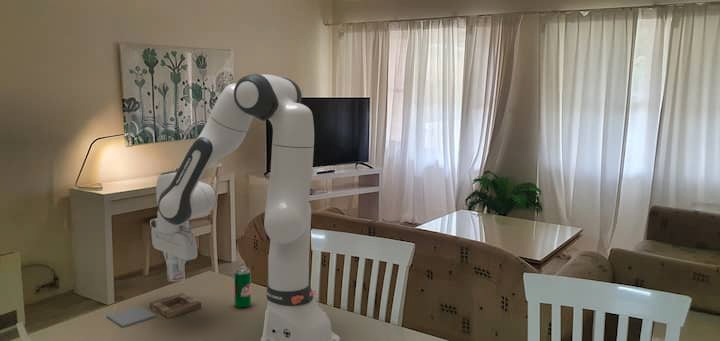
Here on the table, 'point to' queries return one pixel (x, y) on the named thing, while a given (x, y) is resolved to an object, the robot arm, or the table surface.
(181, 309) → the frame
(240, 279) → the soda can
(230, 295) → the table surface
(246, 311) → the table surface
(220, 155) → the robot arm
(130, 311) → the grey mat
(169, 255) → the pill bottle
